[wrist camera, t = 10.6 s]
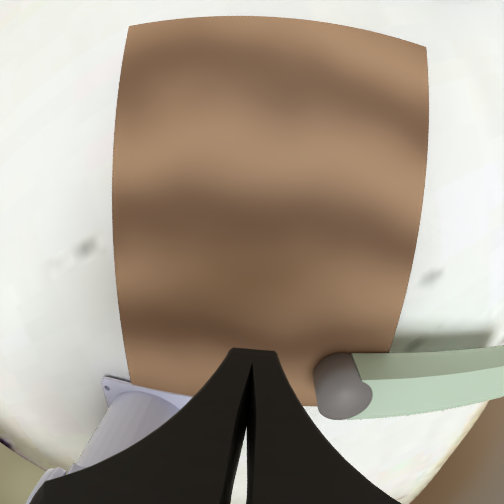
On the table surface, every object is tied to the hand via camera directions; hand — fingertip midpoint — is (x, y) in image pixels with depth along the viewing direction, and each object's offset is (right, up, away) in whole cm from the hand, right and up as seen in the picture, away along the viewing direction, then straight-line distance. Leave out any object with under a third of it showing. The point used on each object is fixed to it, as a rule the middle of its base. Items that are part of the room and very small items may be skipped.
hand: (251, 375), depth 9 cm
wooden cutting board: (+1, +5, +8) cm, 10 cm away
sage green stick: (+12, -4, +7) cm, 14 cm away
